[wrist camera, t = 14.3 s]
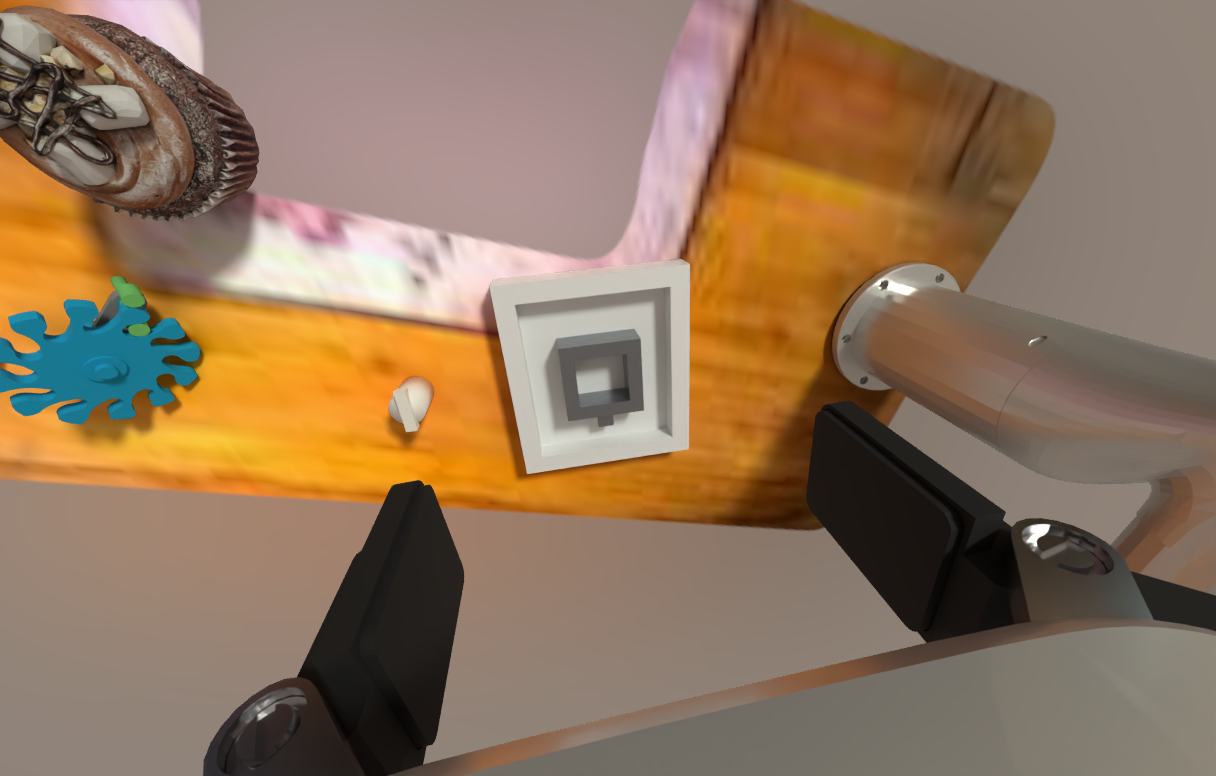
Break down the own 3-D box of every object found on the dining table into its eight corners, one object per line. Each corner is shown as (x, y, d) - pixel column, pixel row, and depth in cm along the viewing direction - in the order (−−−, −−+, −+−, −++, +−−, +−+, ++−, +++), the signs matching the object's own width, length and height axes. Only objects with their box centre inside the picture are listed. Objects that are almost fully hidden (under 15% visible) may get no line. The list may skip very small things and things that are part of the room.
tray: (680, 258, 36) (689, 264, 34) (681, 435, 44) (688, 449, 42) (492, 279, 35) (489, 286, 33) (527, 458, 43) (527, 474, 40)
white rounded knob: (428, 369, 37) (417, 389, 34) (438, 406, 39) (429, 428, 35) (394, 374, 37) (380, 394, 34) (406, 410, 39) (394, 433, 35)
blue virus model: (166, 433, 35) (-56, 424, 25) (144, 387, 37) (-68, 364, 28) (237, 323, 33) (31, 272, 24) (210, 283, 36) (11, 222, 26)
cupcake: (83, 159, 28) (-129, 152, 19) (115, 2, 25) (-116, -93, 16) (249, 243, 31) (135, 270, 22) (294, 113, 28) (185, 84, 20)
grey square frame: (634, 328, 38) (640, 338, 35) (638, 411, 42) (644, 425, 39) (556, 338, 37) (557, 349, 35) (568, 422, 41) (570, 436, 39)
